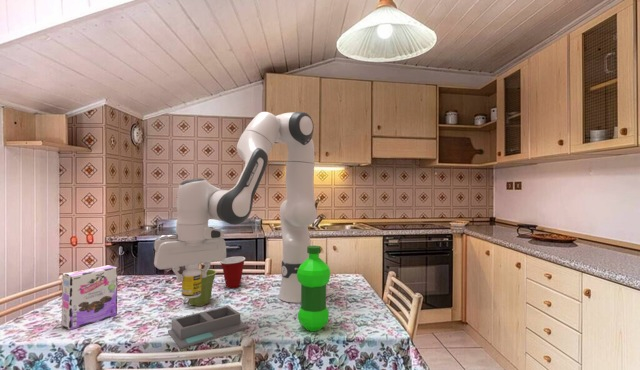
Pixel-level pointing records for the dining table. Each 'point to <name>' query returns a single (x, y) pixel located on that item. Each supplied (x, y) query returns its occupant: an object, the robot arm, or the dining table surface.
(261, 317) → the dining table surface
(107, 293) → the candy box
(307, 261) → the plastic bottle
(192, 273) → the supplement bottle
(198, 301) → the plant pot
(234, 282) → the plastic cup
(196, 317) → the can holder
